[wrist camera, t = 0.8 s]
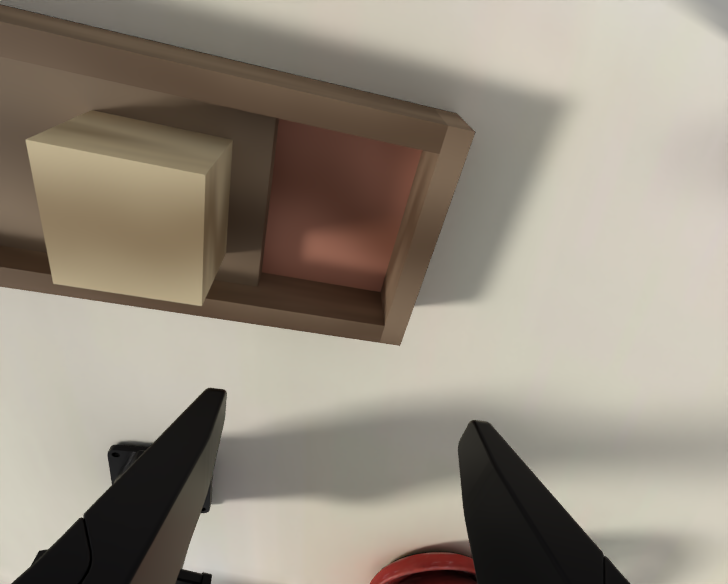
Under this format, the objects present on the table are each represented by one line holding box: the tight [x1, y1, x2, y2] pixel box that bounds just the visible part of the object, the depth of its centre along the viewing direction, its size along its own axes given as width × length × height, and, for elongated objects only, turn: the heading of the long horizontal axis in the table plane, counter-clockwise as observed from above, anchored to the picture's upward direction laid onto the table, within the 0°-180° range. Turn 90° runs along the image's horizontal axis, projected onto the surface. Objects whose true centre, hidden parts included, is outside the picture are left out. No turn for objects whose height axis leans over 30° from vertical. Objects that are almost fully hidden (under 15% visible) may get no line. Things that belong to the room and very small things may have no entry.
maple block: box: [26, 110, 233, 306], centre depth 16 cm, size 5×5×4 cm
